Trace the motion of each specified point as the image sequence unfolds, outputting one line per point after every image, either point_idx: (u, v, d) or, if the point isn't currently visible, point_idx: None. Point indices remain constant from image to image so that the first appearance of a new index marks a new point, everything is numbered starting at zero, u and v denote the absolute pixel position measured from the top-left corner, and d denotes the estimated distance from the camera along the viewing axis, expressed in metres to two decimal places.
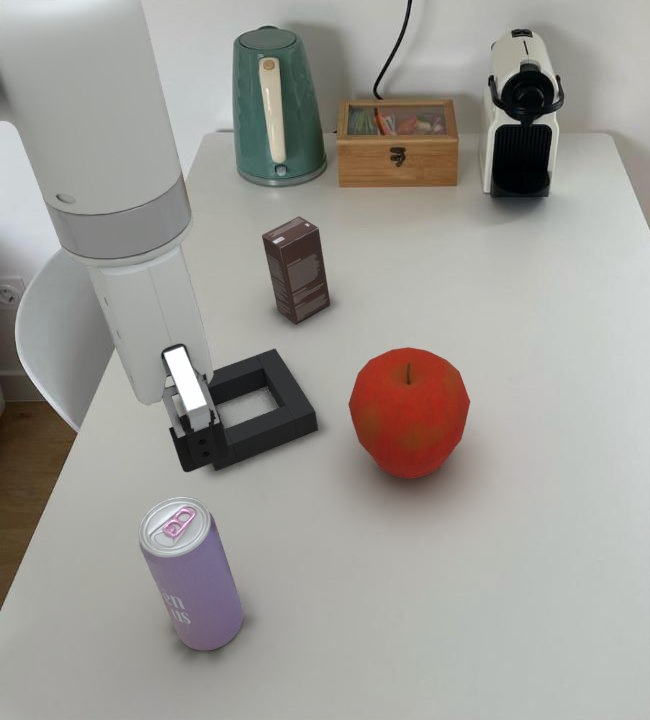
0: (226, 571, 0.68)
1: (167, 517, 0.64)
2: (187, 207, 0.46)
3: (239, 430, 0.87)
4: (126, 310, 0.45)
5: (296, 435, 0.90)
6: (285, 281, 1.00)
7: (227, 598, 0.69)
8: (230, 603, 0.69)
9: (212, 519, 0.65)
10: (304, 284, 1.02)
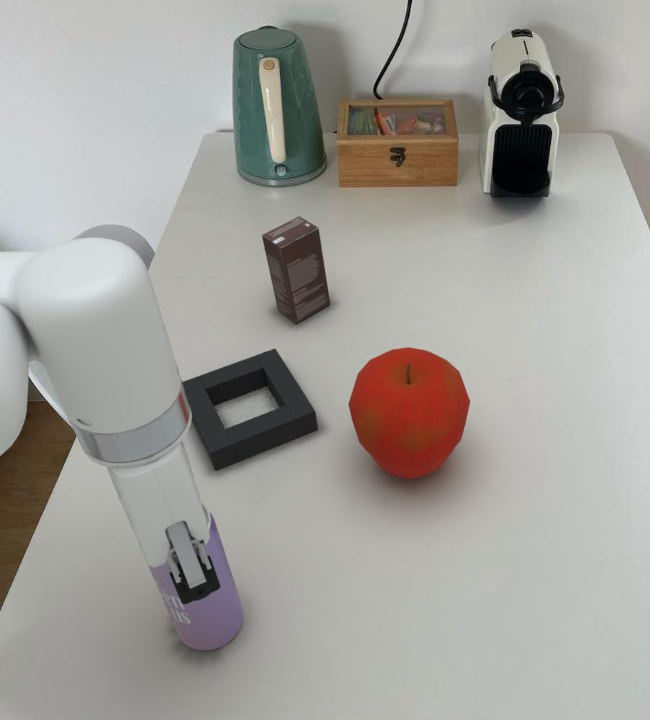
0: (226, 571, 0.68)
1: None
2: (186, 410, 0.55)
3: (239, 430, 0.87)
4: (136, 502, 0.53)
5: (296, 435, 0.90)
6: (285, 281, 1.00)
7: (227, 598, 0.69)
8: (230, 603, 0.69)
9: (212, 519, 0.65)
10: (304, 284, 1.02)
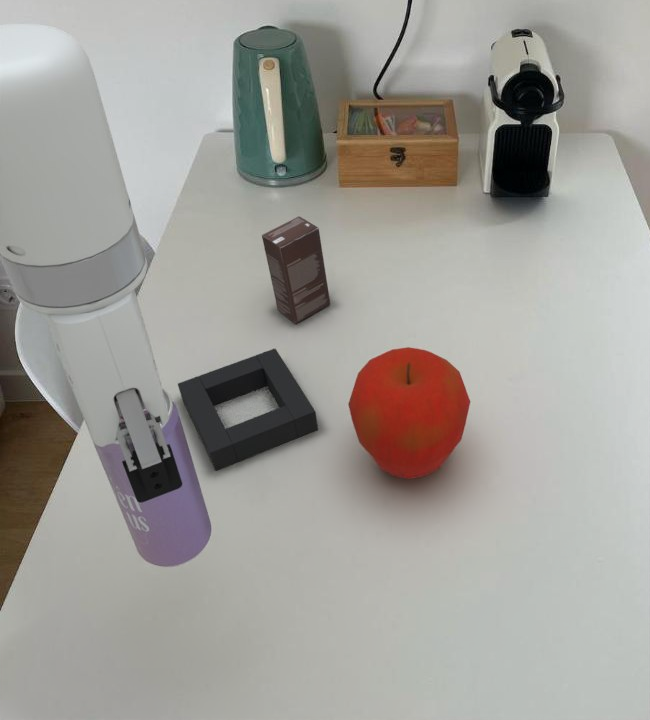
0: (191, 472, 0.59)
1: None
2: (140, 255, 0.47)
3: (239, 430, 0.87)
4: (77, 357, 0.45)
5: (296, 435, 0.90)
6: (285, 281, 1.00)
7: (192, 504, 0.61)
8: (195, 511, 0.61)
9: (174, 407, 0.57)
10: (304, 284, 1.02)
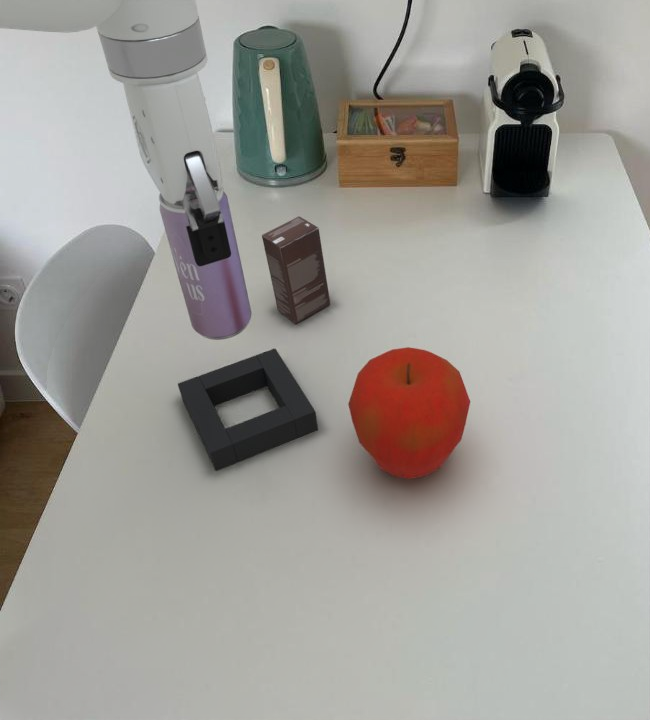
0: (236, 252, 0.75)
1: None
2: (203, 46, 0.62)
3: (239, 430, 0.87)
4: (158, 118, 0.61)
5: (296, 435, 0.90)
6: (285, 281, 1.00)
7: (238, 280, 0.76)
8: (240, 288, 0.77)
9: (224, 193, 0.72)
10: (304, 284, 1.02)
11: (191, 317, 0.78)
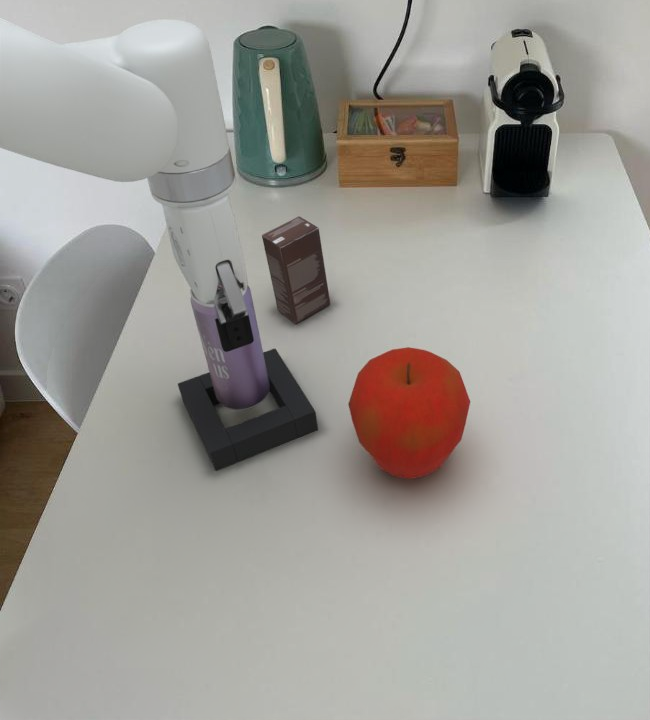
0: (258, 335, 0.84)
1: None
2: (232, 170, 0.71)
3: (239, 430, 0.87)
4: (195, 235, 0.70)
5: (296, 435, 0.90)
6: (285, 281, 1.00)
7: (258, 360, 0.85)
8: (260, 366, 0.86)
9: (248, 286, 0.81)
10: (304, 284, 1.02)
11: (216, 391, 0.87)
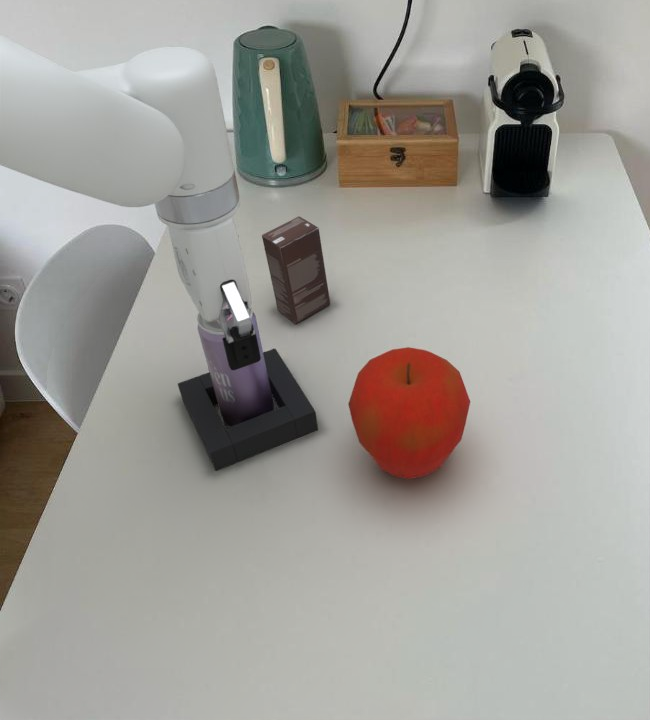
0: (263, 360, 0.87)
1: None
2: (237, 192, 0.73)
3: (239, 430, 0.87)
4: (200, 256, 0.72)
5: (296, 435, 0.90)
6: (285, 281, 1.00)
7: (263, 384, 0.88)
8: (265, 389, 0.88)
9: (253, 313, 0.84)
10: (304, 284, 1.02)
11: (222, 413, 0.90)
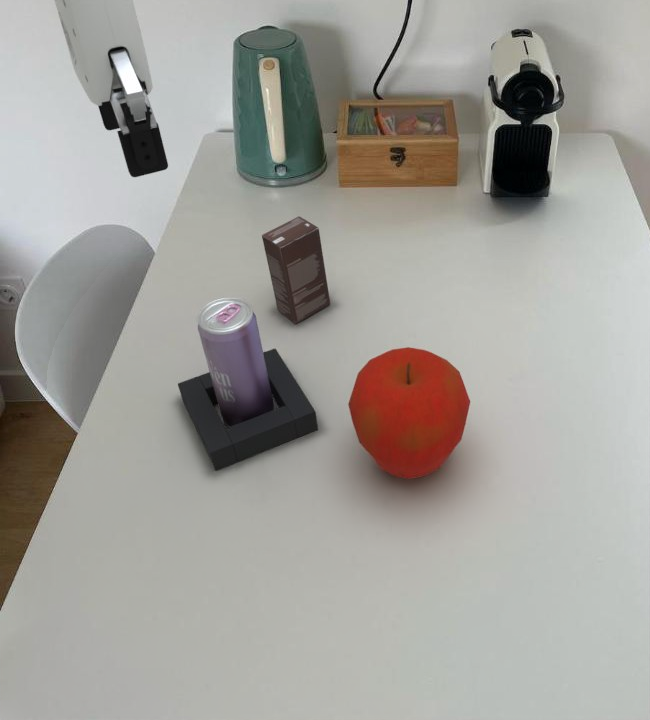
0: (263, 360, 0.87)
1: (219, 310, 0.83)
2: None
3: (239, 430, 0.87)
4: (79, 7, 0.58)
5: (296, 435, 0.90)
6: (285, 281, 1.00)
7: (263, 384, 0.88)
8: (265, 389, 0.88)
9: (253, 313, 0.84)
10: (304, 284, 1.02)
11: (222, 413, 0.90)
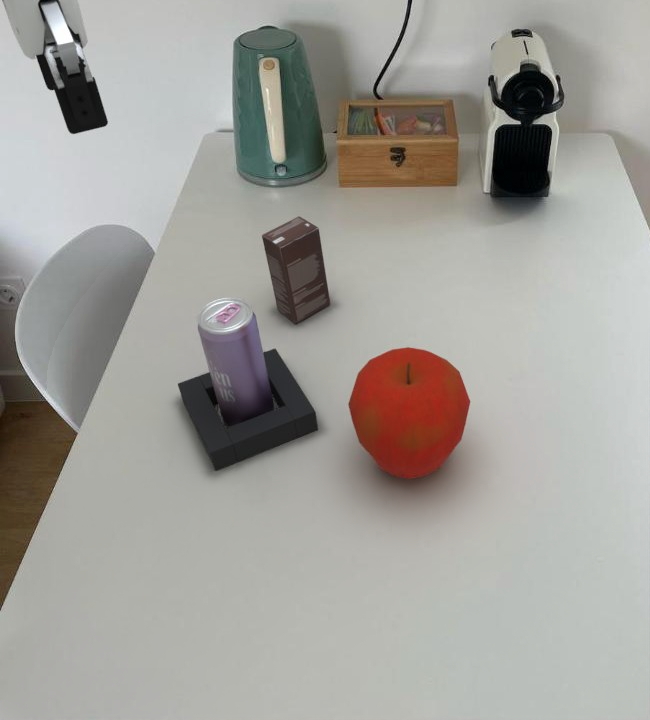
0: (263, 360, 0.87)
1: (219, 310, 0.83)
2: None
3: (239, 430, 0.87)
4: None
5: (296, 435, 0.90)
6: (285, 281, 1.00)
7: (263, 384, 0.88)
8: (265, 389, 0.88)
9: (253, 313, 0.84)
10: (304, 284, 1.02)
11: (222, 413, 0.90)
